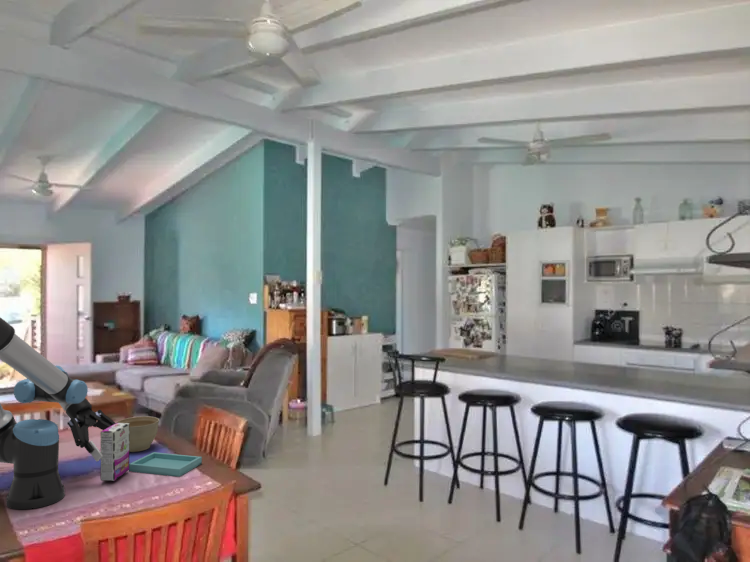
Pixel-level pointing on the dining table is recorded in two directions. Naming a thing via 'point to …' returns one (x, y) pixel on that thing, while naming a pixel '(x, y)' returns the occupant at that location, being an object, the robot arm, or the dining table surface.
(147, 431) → the planter bowl
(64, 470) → the dining table surface
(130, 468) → the tray
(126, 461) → the candy bar box
